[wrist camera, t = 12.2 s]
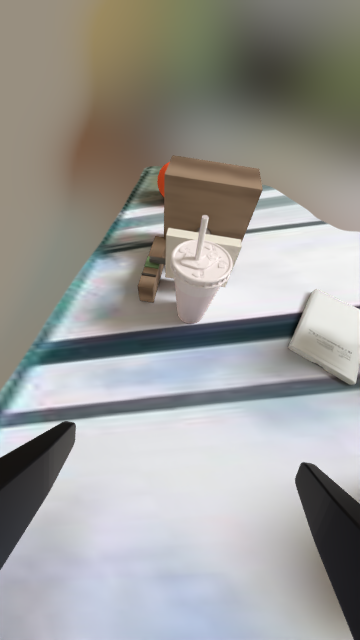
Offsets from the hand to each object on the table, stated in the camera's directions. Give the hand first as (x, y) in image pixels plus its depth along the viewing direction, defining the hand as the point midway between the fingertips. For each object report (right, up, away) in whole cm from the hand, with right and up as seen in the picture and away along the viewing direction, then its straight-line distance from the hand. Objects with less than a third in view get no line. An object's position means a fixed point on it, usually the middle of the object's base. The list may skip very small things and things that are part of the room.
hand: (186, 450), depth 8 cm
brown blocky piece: (+2, +14, +25) cm, 28 cm away
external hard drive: (+21, +3, +21) cm, 30 cm away
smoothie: (+1, +6, +20) cm, 21 cm away
